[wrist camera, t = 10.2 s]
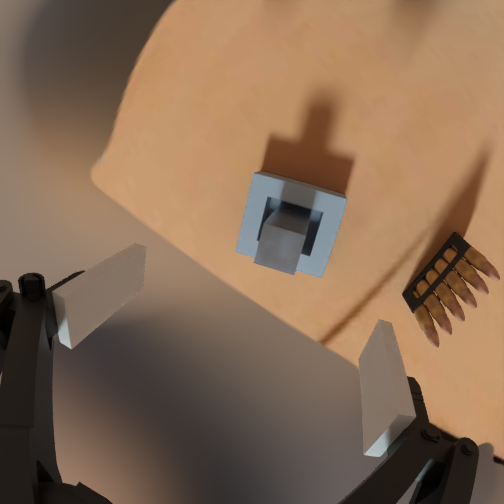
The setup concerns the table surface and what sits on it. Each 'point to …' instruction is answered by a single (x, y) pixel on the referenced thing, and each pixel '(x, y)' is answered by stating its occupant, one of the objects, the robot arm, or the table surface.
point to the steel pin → (283, 238)
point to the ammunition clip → (447, 285)
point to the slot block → (299, 194)
